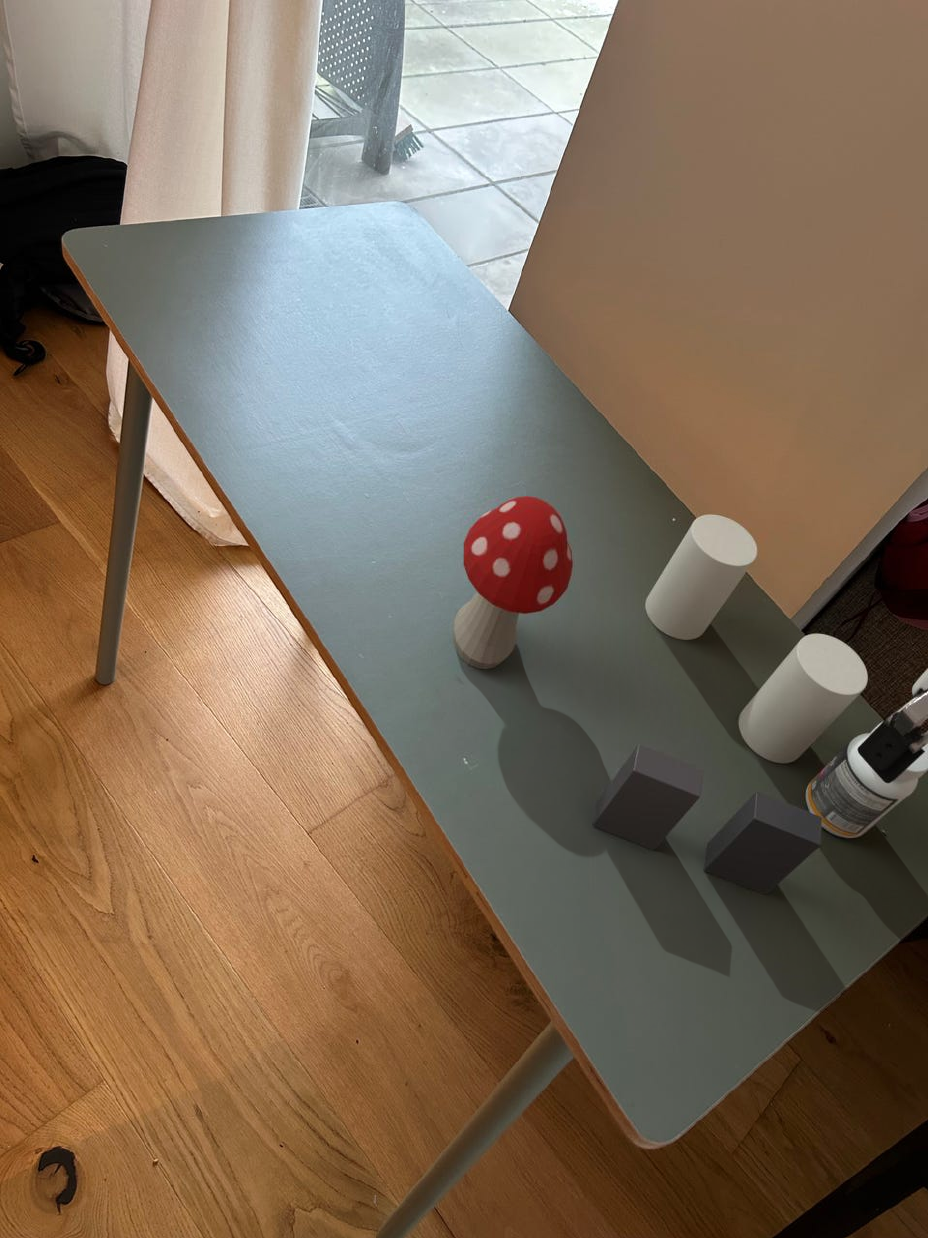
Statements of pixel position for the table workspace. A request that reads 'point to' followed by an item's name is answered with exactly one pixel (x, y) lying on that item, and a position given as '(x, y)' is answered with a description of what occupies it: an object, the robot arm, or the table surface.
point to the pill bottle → (858, 791)
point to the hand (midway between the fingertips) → (913, 744)
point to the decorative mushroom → (510, 576)
